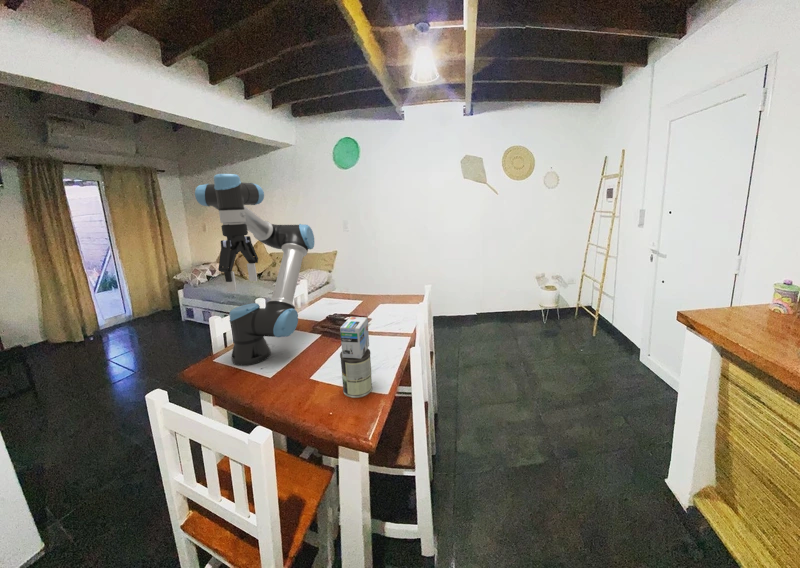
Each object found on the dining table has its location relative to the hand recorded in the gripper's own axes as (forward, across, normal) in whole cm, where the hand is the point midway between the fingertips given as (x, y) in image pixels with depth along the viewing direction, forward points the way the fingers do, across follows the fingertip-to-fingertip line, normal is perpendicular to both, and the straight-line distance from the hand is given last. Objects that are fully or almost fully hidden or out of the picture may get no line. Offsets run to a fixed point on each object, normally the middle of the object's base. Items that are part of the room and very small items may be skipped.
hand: (243, 285), depth 109 cm
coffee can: (+37, -5, -39) cm, 54 cm away
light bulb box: (+23, -4, -39) cm, 45 cm away
